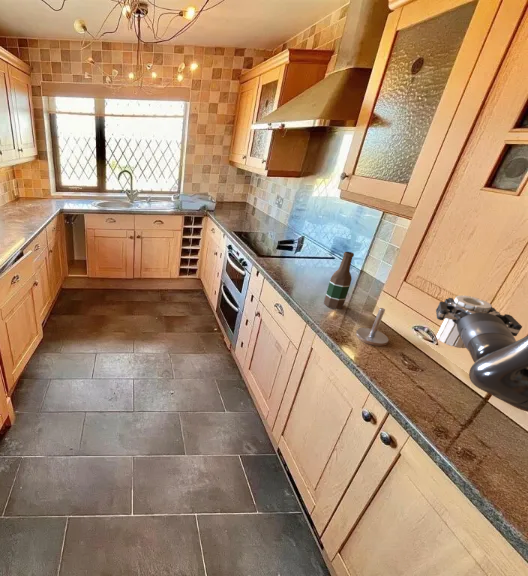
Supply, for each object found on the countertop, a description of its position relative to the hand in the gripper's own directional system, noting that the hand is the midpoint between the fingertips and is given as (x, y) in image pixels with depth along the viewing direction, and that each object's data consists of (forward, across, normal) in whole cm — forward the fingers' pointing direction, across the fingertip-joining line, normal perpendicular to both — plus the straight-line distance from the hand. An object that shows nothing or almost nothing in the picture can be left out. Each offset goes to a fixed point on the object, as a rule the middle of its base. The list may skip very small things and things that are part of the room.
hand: (467, 304), depth 79 cm
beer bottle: (+38, +27, +27) cm, 54 cm away
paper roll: (-2, 0, +10) cm, 10 cm away
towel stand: (+18, +13, +27) cm, 35 cm away
